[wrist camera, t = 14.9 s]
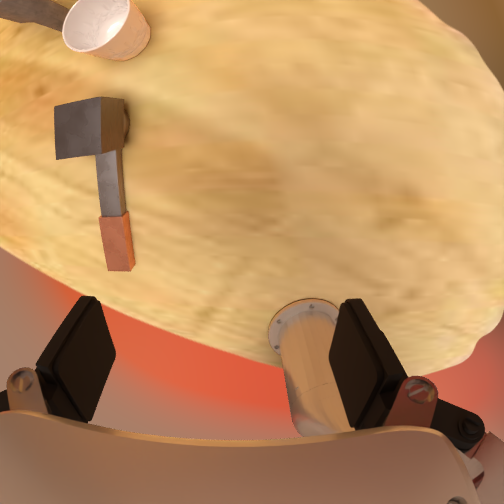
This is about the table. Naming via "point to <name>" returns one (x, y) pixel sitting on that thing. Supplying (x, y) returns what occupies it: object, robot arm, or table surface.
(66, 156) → the two-tone cube
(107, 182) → the ratchet
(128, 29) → the peach tapered cup
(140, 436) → the robot arm
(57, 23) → the hip flask
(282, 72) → the table surface
